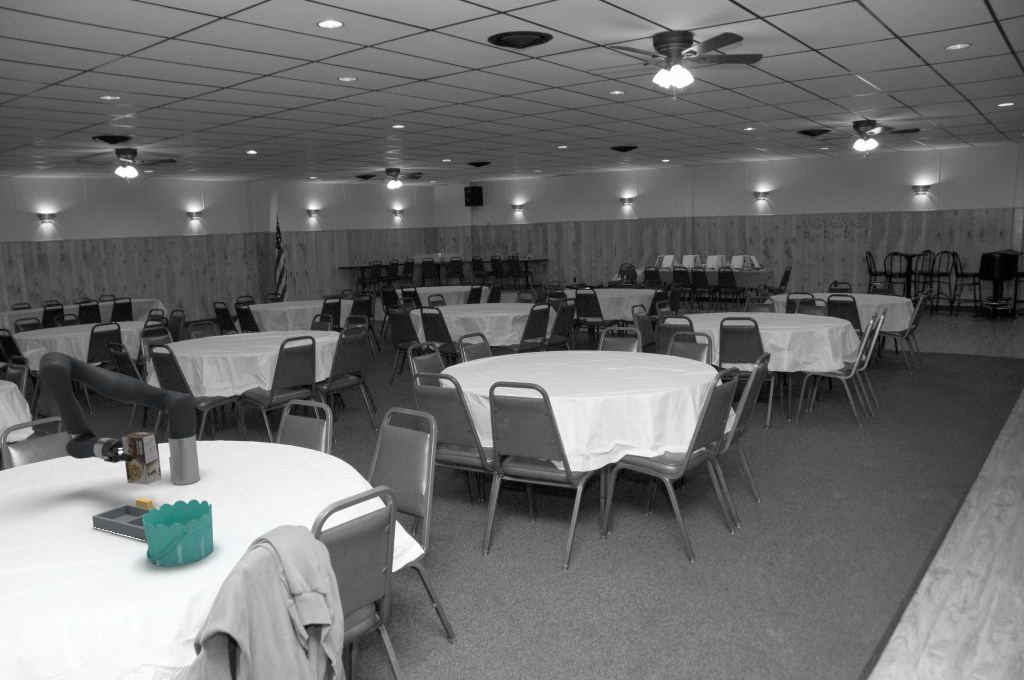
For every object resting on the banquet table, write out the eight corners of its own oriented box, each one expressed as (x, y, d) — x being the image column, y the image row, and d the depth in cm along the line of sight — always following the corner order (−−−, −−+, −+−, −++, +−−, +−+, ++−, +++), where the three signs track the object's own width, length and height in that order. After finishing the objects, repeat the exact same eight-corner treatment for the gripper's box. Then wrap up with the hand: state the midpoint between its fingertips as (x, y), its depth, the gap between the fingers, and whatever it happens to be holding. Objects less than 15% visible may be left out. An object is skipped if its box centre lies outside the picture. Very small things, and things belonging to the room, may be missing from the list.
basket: (213, 562, 217) (208, 517, 215) (141, 572, 212) (136, 527, 210) (218, 536, 235) (214, 495, 233) (152, 546, 230) (147, 504, 228)
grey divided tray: (93, 528, 246) (91, 510, 245) (134, 513, 258) (132, 495, 257) (153, 544, 231) (151, 524, 231) (193, 527, 243) (191, 509, 243)
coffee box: (162, 479, 263) (157, 432, 261) (148, 485, 257) (143, 437, 255) (141, 477, 266) (136, 431, 264) (126, 483, 260) (121, 436, 258)
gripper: (89, 444, 261) (120, 450, 253) (128, 433, 274) (159, 438, 265) (92, 466, 263) (122, 472, 254) (131, 454, 275) (161, 459, 267)
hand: (141, 455), depth 260 cm, fingers closed on coffee box, 7 cm apart
